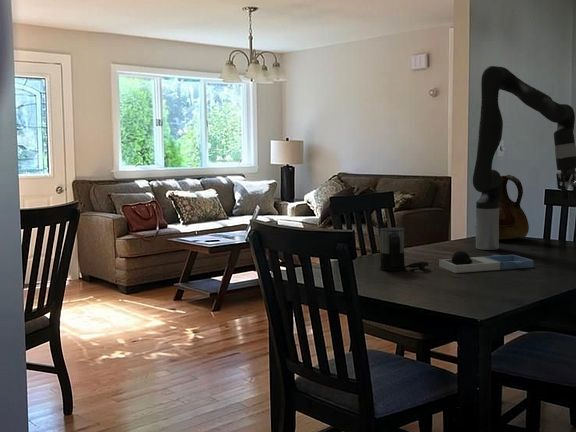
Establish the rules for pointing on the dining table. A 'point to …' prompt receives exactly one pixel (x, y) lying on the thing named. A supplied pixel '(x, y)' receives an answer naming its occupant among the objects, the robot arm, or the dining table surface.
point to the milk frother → (394, 250)
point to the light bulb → (461, 258)
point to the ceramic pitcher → (511, 212)
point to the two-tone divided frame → (488, 263)
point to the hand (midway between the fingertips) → (571, 199)
